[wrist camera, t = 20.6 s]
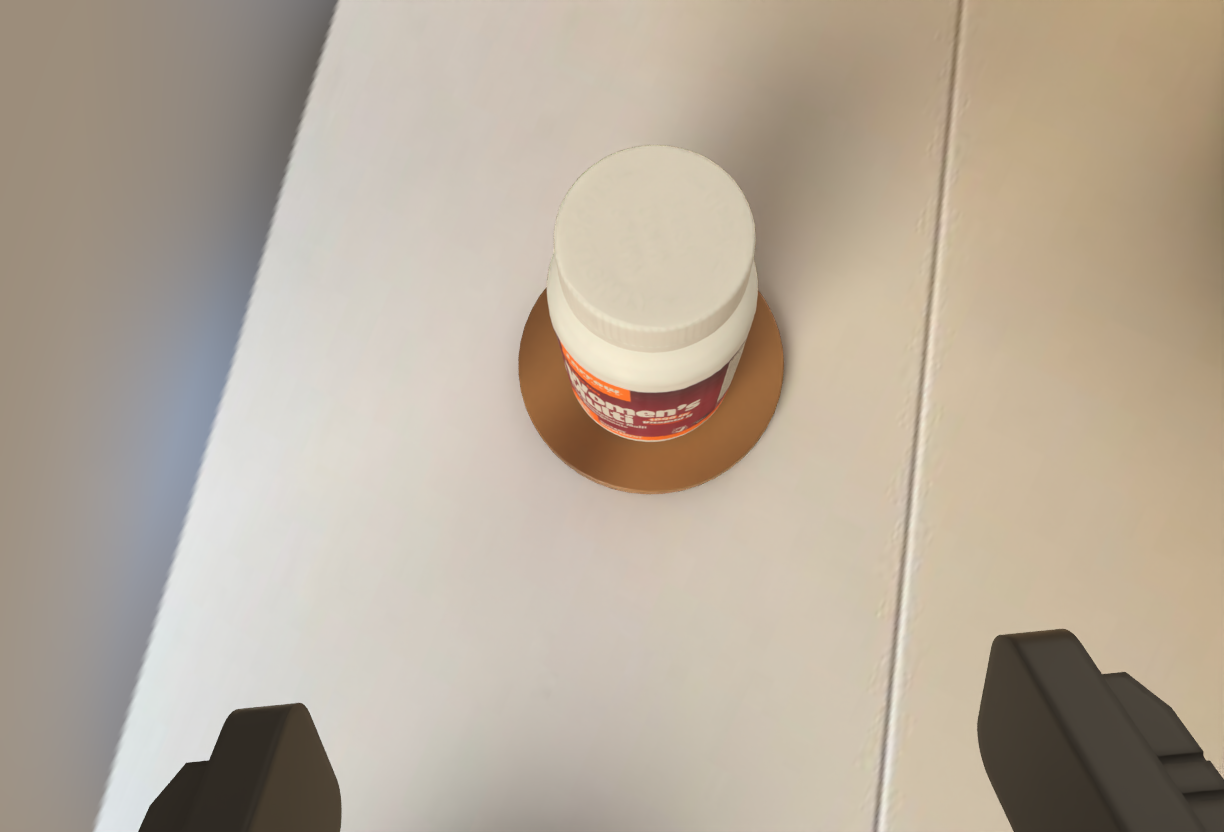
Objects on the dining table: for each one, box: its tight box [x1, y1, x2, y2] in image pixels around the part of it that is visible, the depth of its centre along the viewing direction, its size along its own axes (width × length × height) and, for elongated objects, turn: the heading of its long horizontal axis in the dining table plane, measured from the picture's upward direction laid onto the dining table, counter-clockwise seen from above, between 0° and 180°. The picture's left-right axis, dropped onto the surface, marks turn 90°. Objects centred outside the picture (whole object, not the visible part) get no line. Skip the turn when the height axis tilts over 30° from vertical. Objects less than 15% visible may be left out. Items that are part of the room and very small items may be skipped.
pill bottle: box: [547, 145, 758, 442], centre depth 27 cm, size 6×6×11 cm
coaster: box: [519, 287, 784, 494], centre depth 33 cm, size 10×10×1 cm
